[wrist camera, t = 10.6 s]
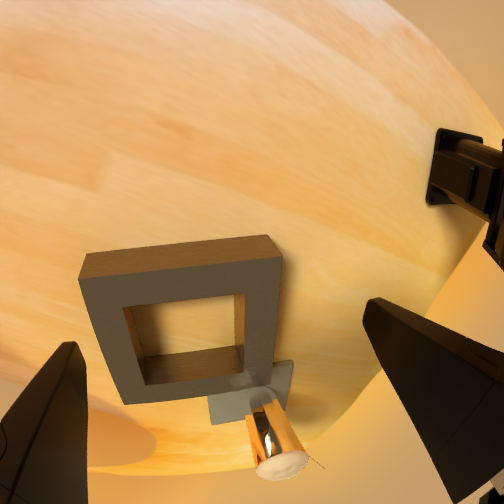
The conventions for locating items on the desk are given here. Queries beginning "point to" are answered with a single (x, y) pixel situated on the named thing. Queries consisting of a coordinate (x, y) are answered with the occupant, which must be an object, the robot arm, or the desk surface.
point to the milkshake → (272, 436)
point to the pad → (230, 404)
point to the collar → (176, 289)
